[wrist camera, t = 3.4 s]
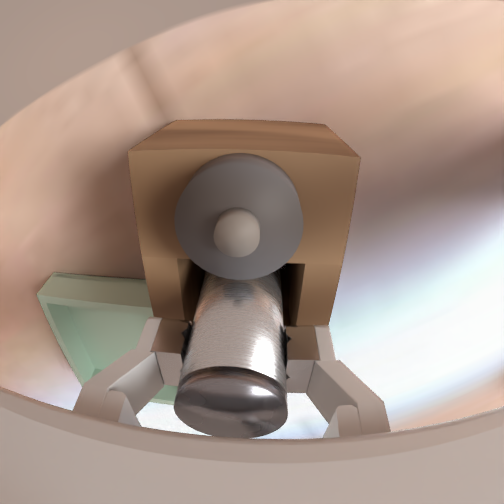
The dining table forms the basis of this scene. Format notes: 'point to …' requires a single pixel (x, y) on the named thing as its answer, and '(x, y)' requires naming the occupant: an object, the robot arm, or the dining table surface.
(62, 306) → the tray
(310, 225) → the tensioner block
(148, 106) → the dining table surface
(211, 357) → the pin
